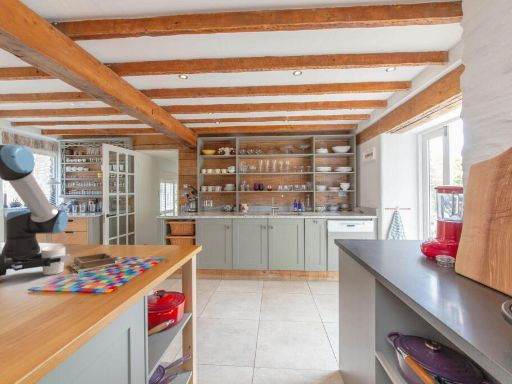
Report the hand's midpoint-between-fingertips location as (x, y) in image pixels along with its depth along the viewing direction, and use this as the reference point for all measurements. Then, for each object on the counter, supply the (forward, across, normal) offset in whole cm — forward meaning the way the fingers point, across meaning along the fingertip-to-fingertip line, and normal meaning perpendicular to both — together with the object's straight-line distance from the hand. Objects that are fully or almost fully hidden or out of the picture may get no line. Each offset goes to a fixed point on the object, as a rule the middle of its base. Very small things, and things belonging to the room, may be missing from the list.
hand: (67, 255), depth 110 cm
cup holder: (+10, 0, -6) cm, 12 cm away
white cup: (-5, 0, -6) cm, 8 cm away
